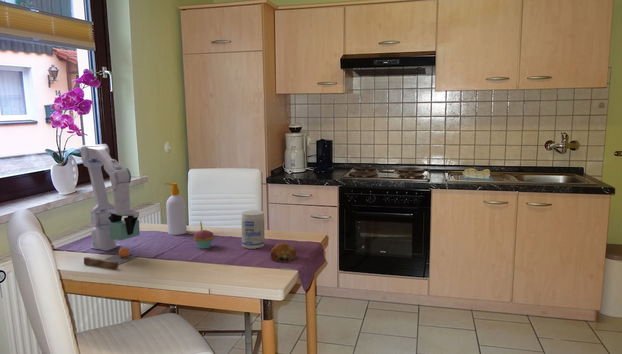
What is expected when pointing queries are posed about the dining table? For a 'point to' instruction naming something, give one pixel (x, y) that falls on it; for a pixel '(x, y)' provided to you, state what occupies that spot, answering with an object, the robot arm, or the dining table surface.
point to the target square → (120, 259)
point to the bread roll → (283, 252)
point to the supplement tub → (253, 229)
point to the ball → (123, 252)
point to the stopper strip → (101, 263)
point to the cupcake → (203, 238)
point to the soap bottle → (176, 212)
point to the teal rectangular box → (122, 230)
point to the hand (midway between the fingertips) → (124, 233)
